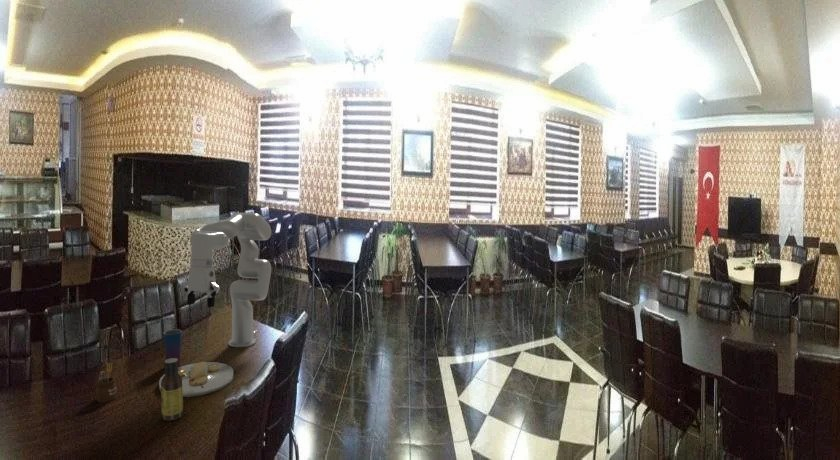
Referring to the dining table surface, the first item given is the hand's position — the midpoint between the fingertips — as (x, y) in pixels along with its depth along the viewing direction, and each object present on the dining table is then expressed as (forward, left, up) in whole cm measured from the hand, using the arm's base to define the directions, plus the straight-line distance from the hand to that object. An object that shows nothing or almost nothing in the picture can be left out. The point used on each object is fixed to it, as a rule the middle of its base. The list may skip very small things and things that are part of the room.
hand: (200, 305), depth 172 cm
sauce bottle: (+29, +15, -29) cm, 44 cm away
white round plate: (+5, +3, -29) cm, 30 cm away
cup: (-3, -17, -29) cm, 34 cm away
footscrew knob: (+10, +8, -27) cm, 29 cm away
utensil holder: (+27, -16, -29) cm, 43 cm away
